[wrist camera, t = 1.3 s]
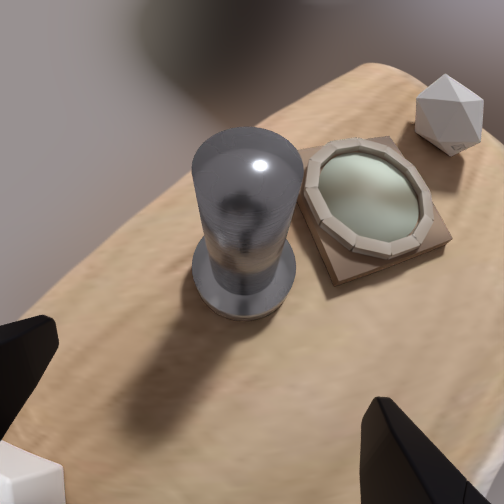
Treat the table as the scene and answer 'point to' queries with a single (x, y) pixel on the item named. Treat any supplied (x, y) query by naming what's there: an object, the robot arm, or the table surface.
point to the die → (449, 116)
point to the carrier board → (366, 207)
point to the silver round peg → (245, 221)
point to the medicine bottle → (29, 478)
